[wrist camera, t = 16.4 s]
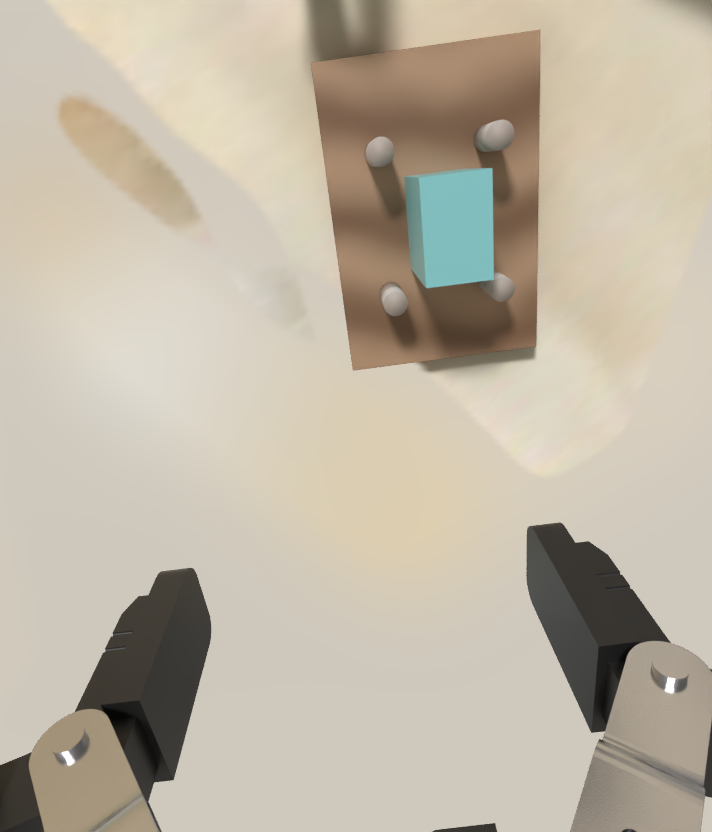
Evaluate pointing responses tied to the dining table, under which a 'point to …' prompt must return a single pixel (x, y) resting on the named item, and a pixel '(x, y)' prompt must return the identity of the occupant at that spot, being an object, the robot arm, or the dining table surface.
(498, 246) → the stub board
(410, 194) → the block
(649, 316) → the dining table surface
